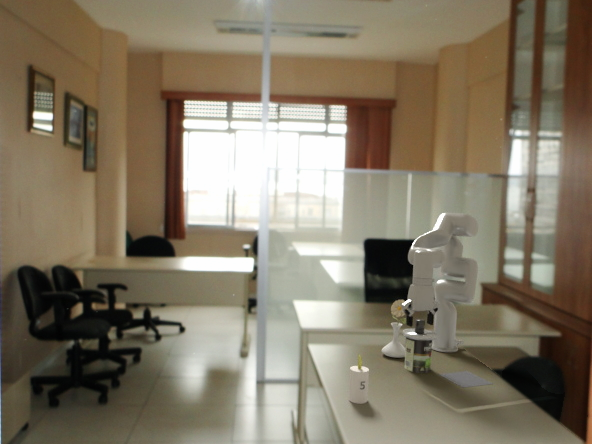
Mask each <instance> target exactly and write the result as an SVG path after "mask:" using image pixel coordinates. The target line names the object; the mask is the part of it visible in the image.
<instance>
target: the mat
mask: <svg viewBox="0 0 592 444" xmlns="http://www.w3.org/2000/svg"><path fill="white" fill-rule="evenodd" d="M438 376H440V377H441V378H445V379H446V380H447V381H449V382H452V383H454V384H455V385H457V386H459V387H461V388H463V389H464V388H472V387H473V388H474V387H479V386H480V387H482V386H487V385H493V384H494V383H493V382H492V381H489V380H486V379H485V378H483V377H480V376H479V375H476V374H474V373H472V372H470V371H469V370H465V371H464V370H463V371H455V372H447V373H439V374H438Z"/></svg>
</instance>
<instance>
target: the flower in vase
mask: <svg viewBox="0 0 592 444" xmlns="http://www.w3.org/2000/svg"><path fill="white" fill-rule="evenodd" d="M405 302H406V301H405V300H404V299H398V300H395V301H394V302H393V303H392V305H391V307H390V311H391V313H390V314H391V316H392V317H391V318H393V319H394V320H396V321H397V322H391V323H390V325H391V327H392V333H393V334H392V335H393V336H392V337H393V338H392V340H391V341H390V342H389V343H388V344H386V345H384V347H382V349H381V352H382V354H383V355H384V356H387V357H391V358H399V359H400V358H405V346H404V345H403V344H402V343H401V342H400V340H399V336H400V330H401V327H403V325H405V324H406V317H404V316H406V314H405V313H404V311H403V309H402V306H401V305H402V304H403V303H405ZM407 310H408V308H407ZM400 317H401V318H400ZM398 318H400V320H399V319H398ZM406 325H407V324H406Z"/></svg>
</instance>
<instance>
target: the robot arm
mask: <svg viewBox="0 0 592 444" xmlns="http://www.w3.org/2000/svg"><path fill="white" fill-rule="evenodd" d="M478 231H479V223H478V220H477V219H476V218H475V217H473V216H472V215H470V214H468V213H465V212H463V213H462V212H450V211H449V212H448V211H447V212H443V213H442V212H441V214H440V215H439V216H438V217H437V219H436V220H435V222H434V225H433V227H432V229H431V230H430V231H428V232H426V233H424V234H422V235H420V236H418V237H417V238H416V239H415V240H413V242H412V245H411V246H410V247H409V250H408V253H407V261H408V262H409V264H410V265H413V268H412V283H411V284H410V286H409V288H408V292H407V293H408V294H407V300H406V301H405V303H403V304H402V305H401V306H402V309H403V311H404V313H405V316H406V317H405V318H406V326H408V327H410V328H411V327H413V325H414V324H413V322H414V316H413V314H415V312H428V313H427V314H426V324H428V325H430V326H433V332H435V333H436V339H434V340H432V351H433V350H434V351H436V352H440V353H457V352H458V351H459V347H458V345H462V344H464V340H463V339H457V338H456V332H457V331H456V330H457V316H458V315H457V314H458V312H457V311H458V310H457V308H456V306H455V305H454V303H460V304H472V303H473V301H474V299H475V295H476V288H477V281H478V280H477V279H478V271H479V267H478V262H477V261H476V259H474V258H472V257H463V252H464V250H463V249H464V246H463V244H462V242H461V240H460V239H459V237H463V238H473V237H475V236H476V235H477V234H478ZM440 247H443V250H441V249H439V248H440ZM434 268H435V269H438V268H440V272H441V275H443V276H444V277H449V278H450V277H451V278H455V279H462V280H463V279H464V280H463V281H461V280H455V279H447V278H442V279H438V280H437V281H436V282H435V278H434V277H433V275H434ZM434 282H435V283H434ZM433 283H434V285H433ZM407 308H408V310H407Z"/></svg>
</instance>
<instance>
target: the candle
mask: <svg viewBox="0 0 592 444" xmlns="http://www.w3.org/2000/svg"><path fill="white" fill-rule="evenodd" d="M357 360H358V362H357V365H353V366H350V368H349V382H348V383H349V385H348V401H349V402H351V403H353V404H366V403H368V398H369V397H368V396H369V395H368V394H369V380H370V379H369V378H370V377H369V376H370V369H369V367H366V366H363V364H362V363H363V361H362V358H361V355H360V354H359V355H358V359H357Z"/></svg>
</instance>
